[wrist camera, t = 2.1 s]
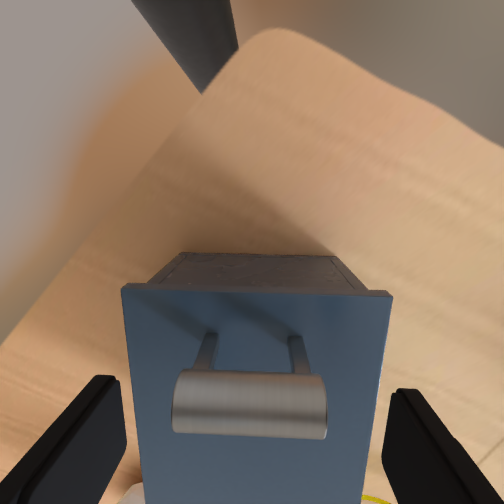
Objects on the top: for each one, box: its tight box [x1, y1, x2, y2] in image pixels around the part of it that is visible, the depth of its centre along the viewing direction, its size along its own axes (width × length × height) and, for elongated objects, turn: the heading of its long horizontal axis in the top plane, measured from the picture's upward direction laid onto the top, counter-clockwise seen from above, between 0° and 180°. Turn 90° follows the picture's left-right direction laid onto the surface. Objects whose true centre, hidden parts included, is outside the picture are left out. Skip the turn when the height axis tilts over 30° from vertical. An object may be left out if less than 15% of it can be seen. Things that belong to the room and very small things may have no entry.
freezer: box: [147, 252, 368, 290], centre depth 20 cm, size 16×13×9 cm
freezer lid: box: [121, 283, 393, 504], centre depth 13 cm, size 16×13×6 cm
